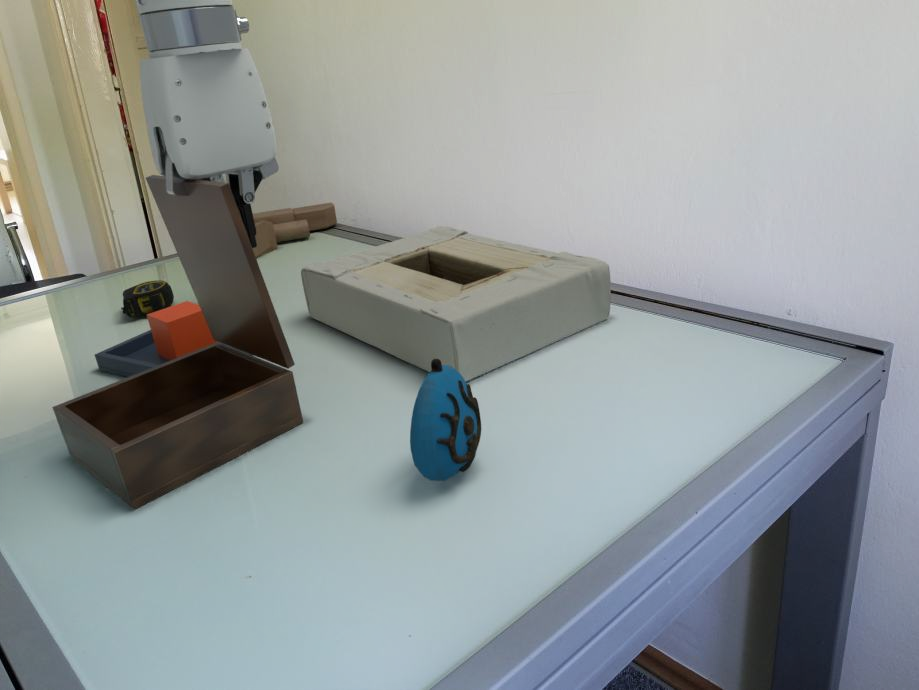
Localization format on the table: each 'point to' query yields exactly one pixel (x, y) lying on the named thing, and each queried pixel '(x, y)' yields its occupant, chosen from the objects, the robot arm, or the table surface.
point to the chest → (178, 420)
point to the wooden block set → (290, 225)
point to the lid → (222, 267)
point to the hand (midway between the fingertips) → (241, 247)
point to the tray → (132, 356)
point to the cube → (179, 330)
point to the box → (458, 298)
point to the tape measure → (147, 298)
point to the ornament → (444, 424)
